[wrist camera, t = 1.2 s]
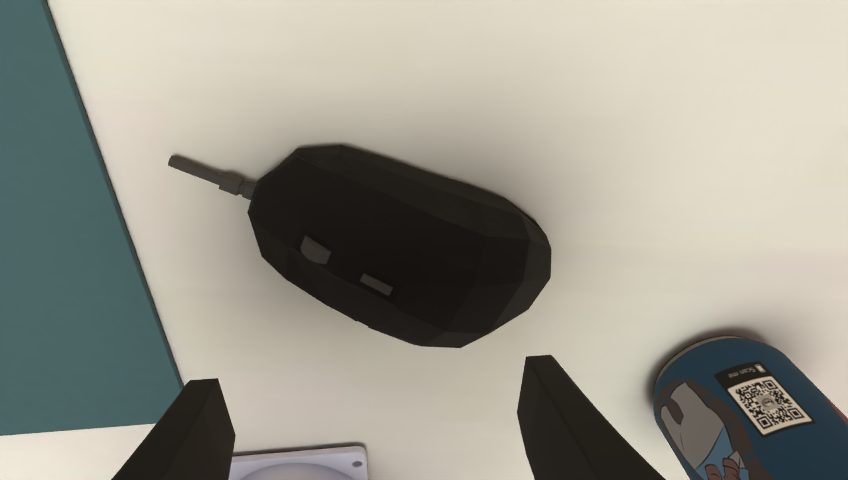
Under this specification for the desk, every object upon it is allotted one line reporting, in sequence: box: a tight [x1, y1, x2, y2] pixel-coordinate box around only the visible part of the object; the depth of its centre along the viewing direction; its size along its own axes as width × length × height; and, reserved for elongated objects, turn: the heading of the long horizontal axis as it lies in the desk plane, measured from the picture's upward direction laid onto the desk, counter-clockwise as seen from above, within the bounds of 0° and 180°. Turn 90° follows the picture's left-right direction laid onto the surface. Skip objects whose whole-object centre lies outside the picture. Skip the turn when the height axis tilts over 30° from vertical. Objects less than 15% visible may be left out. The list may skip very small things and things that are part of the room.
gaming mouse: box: [168, 145, 551, 348], centre depth 18 cm, size 6×15×4 cm, turn 65°
